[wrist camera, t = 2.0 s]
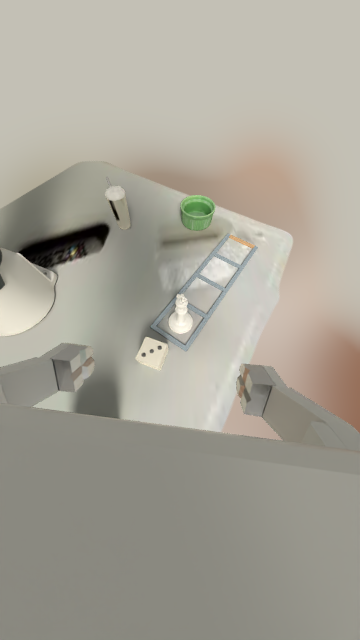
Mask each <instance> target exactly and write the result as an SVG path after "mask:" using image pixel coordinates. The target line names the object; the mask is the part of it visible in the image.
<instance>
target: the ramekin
mask: <svg viewBox="0 0 360 640" xmlns="http://www.w3.org/2000/svg"><path fill="white" fill-rule="evenodd" d="M214 211H215V204H214V202H213V201H212V200H211V199H209V198H207V197H204V196H200V195H193V196H189V197H186V198H185V199H183V201H182V202H181V212H182V222H183V224H184V226H185V227H187V228H188V229H191V230H196V231H198V230H203V229H206V228H207V227H208V226H209V225H210V223H211V220H212V216H213V213H214Z"/></svg>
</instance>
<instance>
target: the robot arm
mask: <svg viewBox="0 0 360 640" xmlns="http://www.w3.org/2000/svg"><path fill="white" fill-rule="evenodd" d="M56 280H57V275H56V274H55V273H54V272H53V271H50V270H48V269H45V268H43V267H40V266H38V265H35V264H33V263H30V262H29V261H28V260H27V259H26V258H25V257H23V256H22V255H21V254H20V253H15V252H13V251H10V250H7V249H3V248H0V336H10V335H15V334H18V333H21V332H24V331H26V330H28V329H30V328H31V327H33V326H34V325H36V324H37V323H38V322H40V321H41V320H42V319H43V318H44V317H45V316H46V315H47V313H48V312H49V310H50V309H51V307H52V305H53V302H54V297H55V292H54V285H55V283H56ZM93 354H94V353H93V348H92V347H91V346H86V345H78V344H71V343H61V344H60V345H58V346H57V347H55V348H54V349H52V350H50V351H49V352H47V353H46V354H44V355H42V356H41V357H39V358H37V357H35V358H32V359H28V360H25V361H21V362H18V363H14V364H10V365H7V366H3V367H0V640H360V434H359V433H358V431H356V430H355V428H354V427H353V426H352V425H350V424H348V423H347V422H345V421H344V420H342V419H340V418H339V417H337V416H336V415H334V414H332V413H331V412H329V411H328V410H326V409H324V408H322V407H321V406H320V405H318V404H316V403H315V402H313V401H311V400H310V399H308V398H306V397H305V396H303V395H302V394H300V393H298V392H297V391H295V390H294V389H292V388H288V387H287V386H286V384H285V383H284V382H283V380H282V379H281V378H280V376H279V375H278V374H277V372H276V371H275V369H274V368H273V367H271V366H262V365H250V364H241V366H240V369H239V371H240V374H241V375H240V376H239V377H238V378H237V382H236V389H237V394H238V396H239V397H240V398H241V402H240V403H241V406H242V409H243V412H244V414H248V415H254V416H261V417H262V418H263V419H264V420H265V421H266V422H267V423H268V425H269V426H270V427H271V428H272V429H273V430H274V431H275V432H276V433H277V434H278V435H279V436H280V437H281V439H283V441H281V440H273V439H266V438H258V437H250V436H243V435H236V434H228V433H221V432H214V431H206V430H199V429H191V428H184V427H177V426H169V425H162V424H154V423H147V422H139V421H131V420H124V419H116V418H109V417H101V416H94V415H86V414H79V413H71V412H64V411H56V410H49V409H42V408H34V407H32V406H34V405H36V404H37V403H39V402H41V401H43V400H44V399H46V398H48V397H50V396H52V395H53V394H55V393H57V392H58V391H66V392H76V391H77V390H78V389H79V388H80V387H81V386H82V384H83V383H84V381H83V380H84V379H86V378H89V377H90V375H91V374H92V372H93V370H94V366H95V362H94V359H93V358H92V357H91V356H92V355H93Z"/></svg>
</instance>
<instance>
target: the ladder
mask: <svg viewBox="0 0 360 640" xmlns="http://www.w3.org/2000/svg"><path fill="white" fill-rule="evenodd" d="M228 238H231V239H233V240H236V241H238V242H240V243H242V244H244V245H246V246H248V247H251V248H253V249H252V251H251V252H250V254H249V255H248V257H247V258H246V259H245V261H244V262H243V264H242V265H239V264H237V263H235V262H233V261H231V260H229V259H227V258H225V257H223V256H221V255H219V254H217V251H218V250H219V249H220V248H221V246H222V245H223V244H224V243H225V242H226V240H227V239H228ZM257 248H258V247H256V246H254V245H252V244H250V243H248V242H245V241H243V240H241V239H239V238H237V237H235V236H232V235H230V234H227V235H226V236H225V238H224V239H223V240H222V241H221V242H220V244H219V245H218V246H217V247H216V248H215V250H214V251H213V252H212V253H211V254H210V256H209V257H208V258H207V259H206V260H205V262H204V263H203V264H202V265H201V266H200V268H199V269H198V270H197V271H196V272H195V274H194V275H193V276H192V277H191V278H190V280H189V281H188V282H187V283H186V284H185V286H184V287H183V288H182V289H181V290H180V292H179V293H178V294H179V295H181V293H182V294H183V293H184V292H185V290H186V289H187V288H188V287H189V286H190V284H191V283H192V282H193V281H194V279H195V278H196V277H198V278H200V279H201V280H203V281H205V282H207V283H209V284H211V285H212V286H214V287H216V288H218V289H220V290H221V291H223V292H222V294H221V295H220V296H219V298H218V299H217V301H216V302H215V304H214V305H213V306H212V308H211V309H210V311H209V312H208V314H205V313H203V312H202V311H200V310H198V309H197V308H195V307H193V306H192V305H190V304H187V308H189V309H190V310H192V311H194V312H195V313H197V314H199V315H200V316H202V317H204V319H203V321H202V322H201V324H200V325H199V326H198V328H197V329H196V331H195V332H194V334H193V335H192V336H191V338H190V339H189V341H188V342H187V344H186V345H184V344H182V343H181V342H179V341H178V340H176V339H175V338H173V337H172V336H170V335H169V334H167V333H166V332H164V331H163V330H161V329H160V328H158V327H157V325H158V323H159V322H160V321H161V320H162V319H163V317H164V316H165V315H166V314H167V312H168V311H169V310H170V309H171V308H172V306H173V305H174V304H175V301H176V299H177V297H176V296H177V295H176V296H175V298H174V299H173V300H172V301H171V302H170V304H169V305H168V306H167V307H166V308H165V310H164V311H163V312H162V313H161V314H160V316H159V317H158V318H157V319H156V320H155V322H154V323H153V324H152V325H151V326H150V327H151V328H152V329H153V330H155V331H156V332H158V333H159V334H161V335H162V336H164V337H165V338H167V339H168V340H170V341H171V342H173V343H174V344H176V345H177V346H178V347H180V348H181V349H183V350H184V351H187V350H188V348H189V347H190V345H191V344H192V343H193V341H194V340H195V338H196V337H197V335H198V334H199V332H200V331H201V329H202V328H203V327H204V325H205V324H206V322H207V321H208V319H209V318H210V316H211V315H212V313H213V312H214V311H215V309H216V308H217V306H218V305H219V303H220V302H221V300H222V299H223V297H224V296H225V295H226V293H227V292H228V290H229V289H230V287H231V286H232V284H233V283H234V281H235V280H236V279H237V277H238V276H239V274H240V273H241V271H242V270H243V268H244V267H245V265H246V264H247V263H248V261H249V260H250V258H251V257H252V255H253V254H254V252H255V251H256V249H257ZM213 256H215V257H217V258H219V259H221V260H223V261H225V262H227V263H229V264H231V265H233V266H235V267H237V268H239V269H238V271H237V272H236V274H235V275H234V277H233V278H232V279H231V281H230V282H229V284H228V285H227V286H226V288H224V287H222V286H220V285H218V284H217V283H215V282H213V281H211V280H209V279H207V278H206V277H204V276H202V275H200V274H199V273H200V272H201V271H202V270H203V268H204V267H205V266H206V265H207V264H208V262H209V261H210V260H211V259H212V257H213Z"/></svg>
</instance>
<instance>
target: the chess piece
mask: <svg viewBox="0 0 360 640" xmlns="http://www.w3.org/2000/svg"><path fill="white" fill-rule="evenodd" d="M176 297H177V299H176V301H175V303H176V307H175V312H174V313H172V314H171V316H170V317H169V321H168V323H169V327H170V329H171V330H172V331H174V332H175V333H179V334H182V333H186V332H188V331H189V330H190V329H191V328H192V325H193V320H192V317H191V315H190V314H189V313H188V312H187V304H188V300H187V299H186V298H185V297H184V294H182V293H181V295H179V294H177V296H176Z"/></svg>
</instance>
